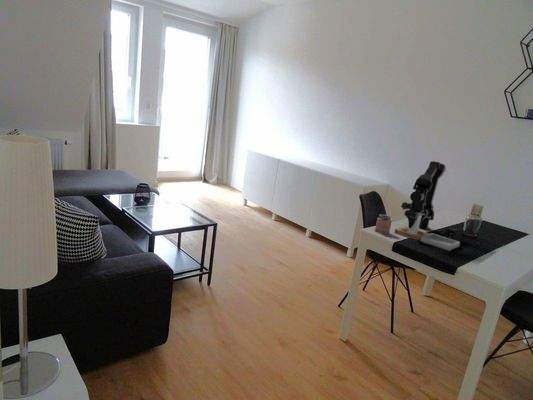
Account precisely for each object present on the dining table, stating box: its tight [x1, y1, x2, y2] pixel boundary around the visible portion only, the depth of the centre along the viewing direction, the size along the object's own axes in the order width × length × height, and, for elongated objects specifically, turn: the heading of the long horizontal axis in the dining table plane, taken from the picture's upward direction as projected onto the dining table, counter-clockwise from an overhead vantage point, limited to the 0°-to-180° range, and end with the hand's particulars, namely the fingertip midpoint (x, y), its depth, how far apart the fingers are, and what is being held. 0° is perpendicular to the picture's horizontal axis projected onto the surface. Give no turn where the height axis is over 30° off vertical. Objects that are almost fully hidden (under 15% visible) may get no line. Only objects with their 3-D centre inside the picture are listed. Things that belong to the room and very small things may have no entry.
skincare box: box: [406, 214, 422, 236], centre depth 207 cm, size 6×4×12 cm
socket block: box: [394, 226, 430, 241], centre depth 208 cm, size 14×14×2 cm
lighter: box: [374, 213, 393, 235], centre depth 205 cm, size 8×3×10 cm, turn 84°
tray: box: [420, 232, 461, 252], centre depth 198 cm, size 15×15×3 cm
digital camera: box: [443, 226, 464, 242], centre depth 208 cm, size 10×5×7 cm, turn 127°
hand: (413, 227), depth 207 cm, fingers open, 9 cm apart
